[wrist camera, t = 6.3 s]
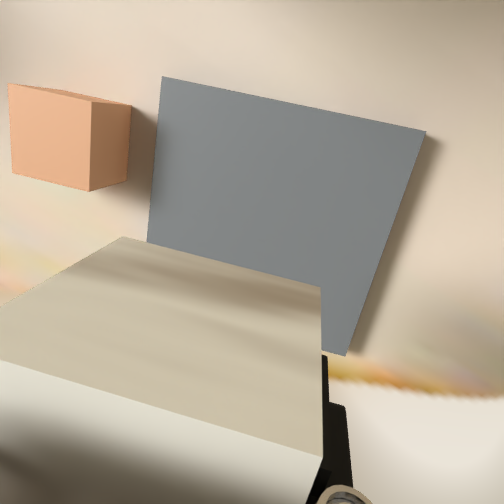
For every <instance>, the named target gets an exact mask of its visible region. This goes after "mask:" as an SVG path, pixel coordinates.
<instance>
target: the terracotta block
mask: <svg viewBox="0 0 504 504" xmlns="http://www.w3.org/2000/svg"><path fill="white" fill-rule="evenodd" d="M8 100H9V119H10V138H11V157H12V173H14V174H18V175H23V176H27V177H31V178H35V179H39V180H43V181H47V182H51V183H55V184H59V185H63V186H67V187H71V188H75V189H80V190H84V191H88V192H90V191H93V190H97V189H100V188H103V187H107V186H110V185H113V184H117V183H120V182H123V181H127V167H128V152H129V137H130V122H131V107H132V105H127V104H123V103H118V102H113V101H109V100H104V99H100V98H95V97H91V96H86V95H82V94H77V93H72V92H68V91H63V90H57V89H49V88H41V87H34V86H26V85H18V84H11V83H8Z"/></svg>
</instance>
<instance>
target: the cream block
mask: <svg viewBox="0 0 504 504" xmlns="http://www.w3.org/2000/svg"><path fill="white" fill-rule="evenodd" d="M322 459H323V427H322V357H321V287H317V286H313V285H309V284H306V283H302V282H298V281H294V280H290V279H286V278H282V277H278V276H275V275H271V274H267V273H263V272H259V271H255V270H251V269H247V268H244V267H240V266H236V265H232V264H228V263H224V262H220V261H216V260H213V259H209V258H205V257H201V256H197V255H193V254H189V253H185V252H182V251H178V250H174V249H170V248H166V247H162V246H158V245H154V244H151V243H147V242H143V241H139V240H135V239H131V238H127V237H121V238H119V239H117V240H116V241H114V242H112V243H110V244H109V245H107V246H105V247H103V248H102V249H100V250H98V251H96V252H95V253H93V254H91V255H89V256H88V257H86V258H84V259H82V260H81V261H79V262H77V263H75V264H74V265H72V266H70V267H68V268H67V269H65V270H63V271H61V272H60V273H58V274H56V275H54V276H53V277H51V278H49V279H47V280H46V281H44V282H42V283H40V284H39V285H37V286H35V287H33V288H32V289H30V290H28V291H26V292H25V293H23V294H21V295H19V296H18V297H16V298H14V299H12V300H11V301H9V302H7V303H5V304H4V305H2V306H0V504H305V503H306V500H307V498H308V495H309V493H310V490H311V487H312V485H313V482H314V480H315V477H316V474H317V472H318V469H319V467H320V464H321V461H322Z"/></svg>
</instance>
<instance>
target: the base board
mask: <svg viewBox="0 0 504 504" xmlns="http://www.w3.org/2000/svg"><path fill="white" fill-rule="evenodd" d="M425 133H426V131H422V130H417V129H412V128H408V127H403V126H398V125H393V124H389V123H384V122H379V121H374V120H369V119H365V118H360V117H355V116H350V115H345V114H341V113H336V112H331V111H326V110H321V109H317V108H312V107H307V106H302V105H297V104H293V103H288V102H283V101H278V100H274V99H269V98H264V97H259V96H254V95H250V94H245V93H240V92H235V91H230V90H226V89H221V88H216V87H211V86H206V85H202V84H197V83H192V82H187V81H182V80H178V79H173V78H168V77H163V76H162V81H161V92H160V103H159V114H158V124H157V135H156V146H155V157H154V168H153V178H152V189H151V200H150V211H149V222H148V232H147V243H151V244H154V245H158V246H162V247H166V248H170V249H174V250H178V251H182V252H185V253H189V254H193V255H197V256H201V257H205V258H209V259H213V260H216V261H220V262H224V263H228V264H232V265H236V266H240V267H244V268H247V269H251V270H255V271H259V272H263V273H267V274H271V275H275V276H278V277H282V278H286V279H290V280H294V281H298V282H302V283H306V284H309V285H313V286H317V287H321V350H323V351H327V352H330V353H334V354H338V355H341V356H346V353H347V350H348V347H349V344H350V342H351V339H352V336H353V333H354V331H355V328H356V325H357V322H358V319H359V317H360V314H361V311H362V308H363V306H364V303H365V300H366V297H367V294H368V292H369V289H370V286H371V283H372V281H373V278H374V275H375V272H376V270H377V267H378V264H379V261H380V258H381V256H382V253H383V250H384V247H385V245H386V242H387V239H388V236H389V233H390V231H391V228H392V225H393V222H394V220H395V217H396V214H397V211H398V208H399V206H400V203H401V200H402V197H403V195H404V192H405V189H406V186H407V183H408V181H409V178H410V175H411V172H412V170H413V167H414V164H415V161H416V158H417V156H418V153H419V150H420V147H421V145H422V142H423V139H424V136H425Z"/></svg>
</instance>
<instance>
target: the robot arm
mask: <svg viewBox="0 0 504 504" xmlns="http://www.w3.org/2000/svg"><path fill="white" fill-rule="evenodd" d="M321 357H322V427H323V459H322V461H321V464H320V467H319V469H318V472H317V474H316V477H315V480H314V482H313V485H312V487H311V490H310V493H309V495H308V498H307V500H306V503H305V504H372V502H371V501H370V500H369V499H368V498H367V497H366V496H364V495H363V494H362V493H361V492H359V491H357V490H356V489H354V488H353V480H352V470H351V460H350V449H349V439H348V428H347V418H346V410H345V407H344V406H342V405H339V404H335V403H332V402H329V384H328V359H327V356H325V355H321Z"/></svg>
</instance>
